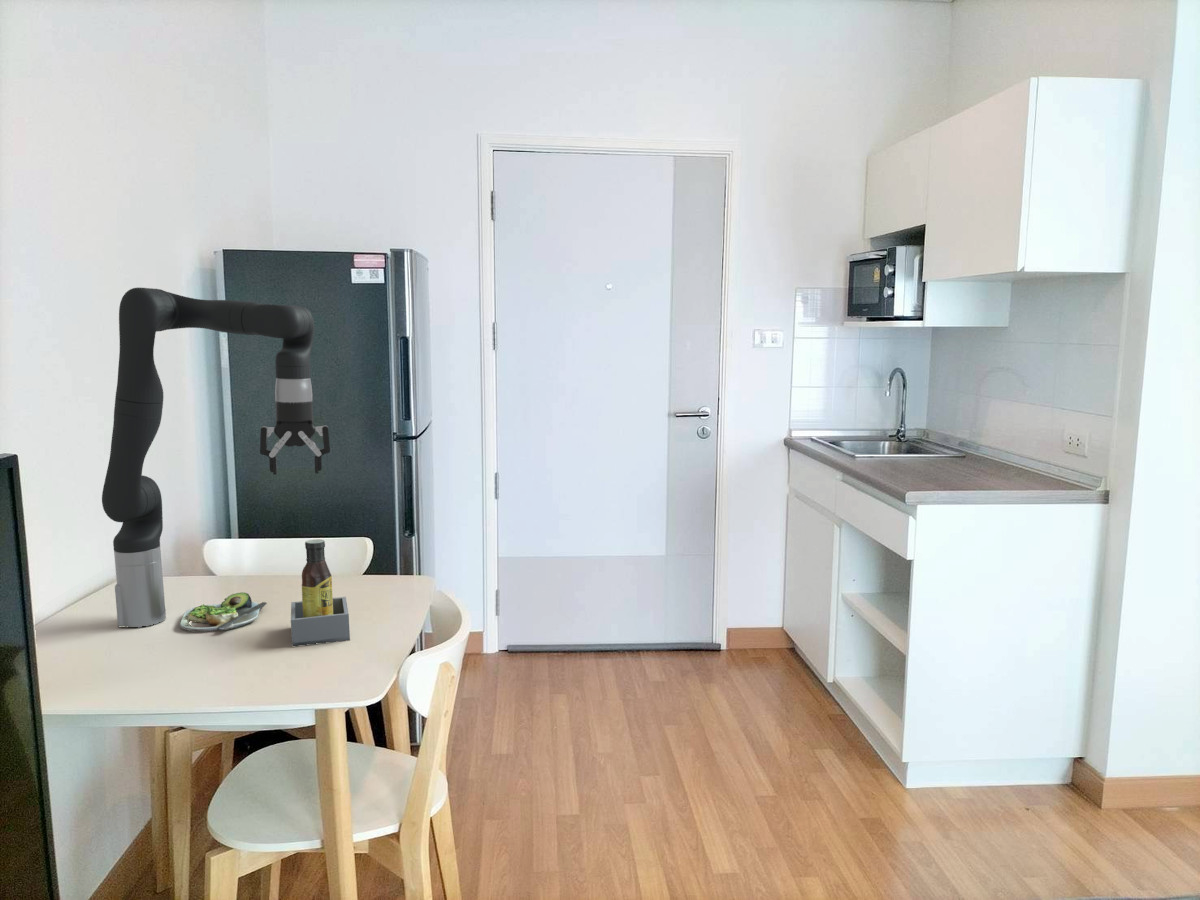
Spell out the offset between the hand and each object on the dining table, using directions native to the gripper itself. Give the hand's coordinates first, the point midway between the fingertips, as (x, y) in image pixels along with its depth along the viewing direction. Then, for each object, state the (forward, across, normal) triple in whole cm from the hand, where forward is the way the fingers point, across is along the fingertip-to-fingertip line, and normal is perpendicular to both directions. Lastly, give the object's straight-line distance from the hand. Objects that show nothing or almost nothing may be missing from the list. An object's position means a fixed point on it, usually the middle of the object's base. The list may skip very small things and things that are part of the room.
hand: (296, 473), depth 188 cm
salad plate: (+36, -17, +11) cm, 41 cm away
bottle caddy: (+34, +4, -6) cm, 35 cm away
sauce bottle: (+34, +4, -6) cm, 35 cm away
